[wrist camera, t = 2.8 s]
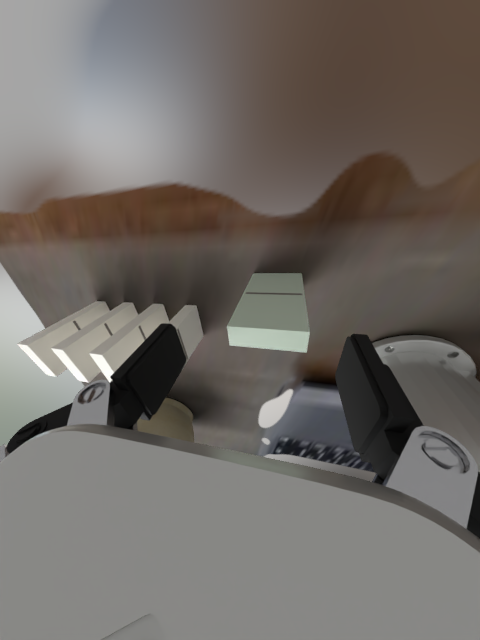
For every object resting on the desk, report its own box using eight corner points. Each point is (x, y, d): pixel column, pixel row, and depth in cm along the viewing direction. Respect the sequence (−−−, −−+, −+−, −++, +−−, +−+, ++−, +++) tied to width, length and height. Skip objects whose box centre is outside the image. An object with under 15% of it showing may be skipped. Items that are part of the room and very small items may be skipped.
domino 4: (196, 305, 24) (148, 360, 16) (203, 335, 27) (165, 396, 19) (185, 304, 24) (132, 358, 16) (193, 334, 27) (151, 393, 19)
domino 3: (163, 304, 25) (102, 355, 17) (173, 333, 28) (124, 388, 20) (153, 303, 25) (88, 353, 17) (164, 332, 28) (112, 386, 20)
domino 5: (253, 273, 20) (227, 326, 12) (301, 273, 19) (309, 331, 10) (253, 287, 21) (229, 345, 13) (300, 287, 19) (306, 352, 11)
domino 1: (105, 301, 27) (27, 345, 19) (119, 328, 30) (56, 376, 22) (96, 301, 28) (16, 343, 20) (111, 327, 30) (47, 375, 22)
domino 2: (132, 302, 26) (62, 349, 18) (145, 330, 29) (89, 382, 21) (123, 302, 27) (50, 348, 19) (136, 329, 29) (78, 380, 21)
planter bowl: (219, 430, 42) (200, 491, 34) (165, 427, 48) (138, 478, 39) (186, 385, 35) (151, 448, 26) (128, 387, 41) (83, 439, 32)
